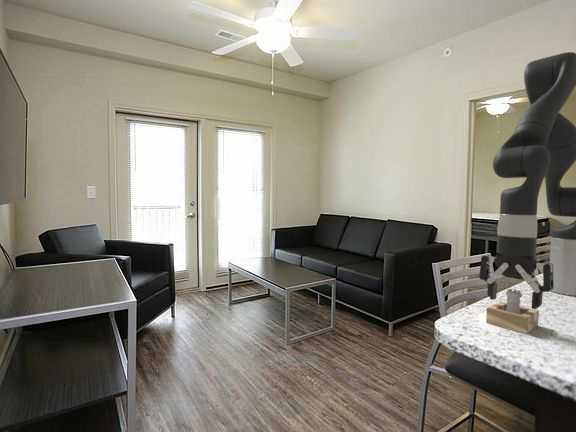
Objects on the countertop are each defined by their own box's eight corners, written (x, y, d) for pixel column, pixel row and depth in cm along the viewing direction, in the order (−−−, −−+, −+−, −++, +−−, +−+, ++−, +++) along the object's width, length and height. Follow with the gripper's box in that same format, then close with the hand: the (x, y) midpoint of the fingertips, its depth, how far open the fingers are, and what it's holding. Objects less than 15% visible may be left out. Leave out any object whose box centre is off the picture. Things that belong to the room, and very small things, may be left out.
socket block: (499, 315, 84) (500, 301, 84) (538, 325, 78) (538, 310, 77) (486, 322, 79) (486, 307, 79) (525, 333, 73) (526, 317, 73)
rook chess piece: (527, 328, 76) (529, 293, 75) (505, 326, 77) (507, 292, 76) (518, 321, 80) (520, 288, 80) (497, 319, 81) (499, 287, 81)
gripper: (560, 236, 74) (555, 308, 75) (489, 230, 85) (486, 293, 86) (549, 238, 69) (545, 315, 70) (476, 232, 80) (473, 298, 81)
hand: (512, 303), depth 78 cm, fingers open, 8 cm apart
